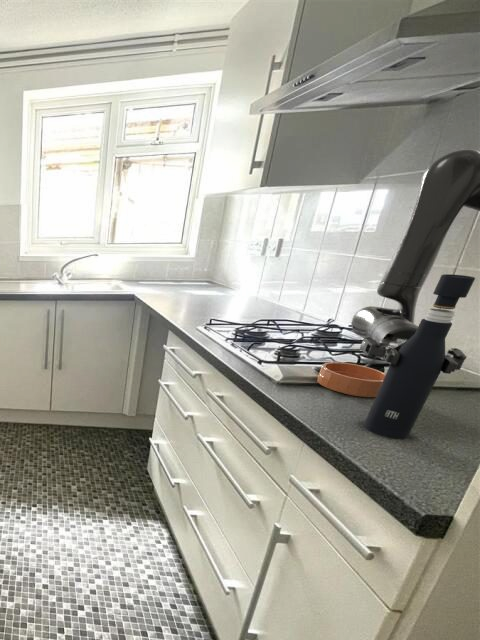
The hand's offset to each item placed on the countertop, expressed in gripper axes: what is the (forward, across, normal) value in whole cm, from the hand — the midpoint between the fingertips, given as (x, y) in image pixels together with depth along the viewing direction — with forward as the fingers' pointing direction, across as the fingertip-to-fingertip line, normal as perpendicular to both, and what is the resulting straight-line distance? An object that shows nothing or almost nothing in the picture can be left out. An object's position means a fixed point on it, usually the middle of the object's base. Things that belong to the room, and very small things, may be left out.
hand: (422, 364), depth 74 cm
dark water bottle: (-2, 0, +15) cm, 15 cm away
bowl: (-26, -3, +15) cm, 30 cm away
